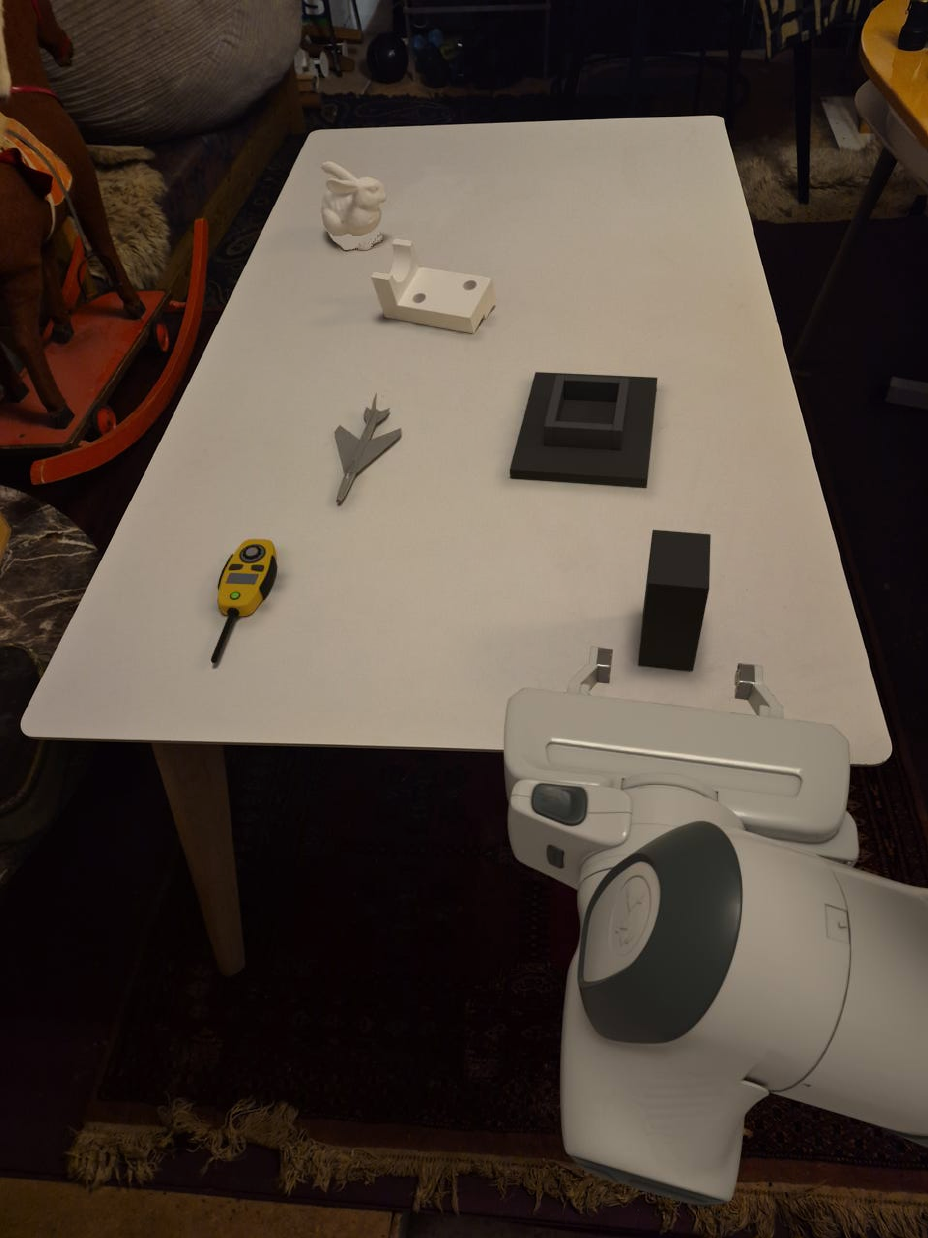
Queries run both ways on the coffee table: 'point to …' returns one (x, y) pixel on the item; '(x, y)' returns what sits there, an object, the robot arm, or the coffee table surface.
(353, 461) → the toy airplane
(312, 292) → the coffee table surface
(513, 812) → the robot arm
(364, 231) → the rabbit
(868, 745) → the coffee table surface
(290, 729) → the coffee table surface
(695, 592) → the pad block
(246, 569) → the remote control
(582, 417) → the base pad
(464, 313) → the bracket
